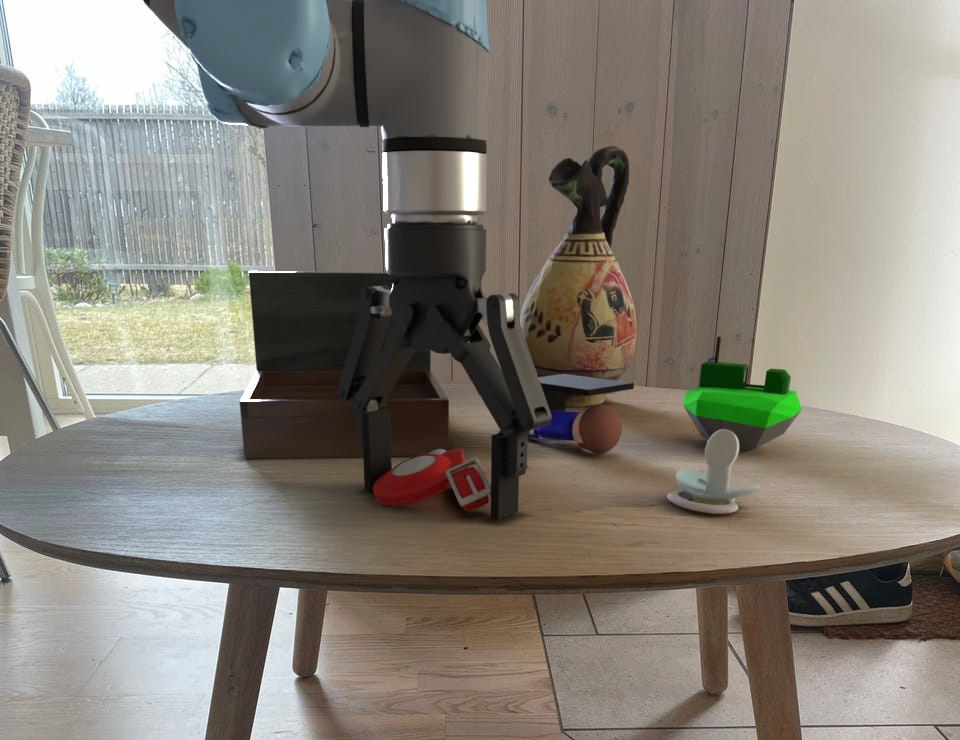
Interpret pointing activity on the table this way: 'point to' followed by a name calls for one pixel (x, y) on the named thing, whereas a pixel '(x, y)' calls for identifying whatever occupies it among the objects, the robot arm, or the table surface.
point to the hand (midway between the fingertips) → (438, 501)
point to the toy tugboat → (741, 403)
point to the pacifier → (711, 478)
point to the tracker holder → (434, 480)
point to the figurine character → (581, 413)
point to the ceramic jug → (583, 283)
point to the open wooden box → (326, 372)
